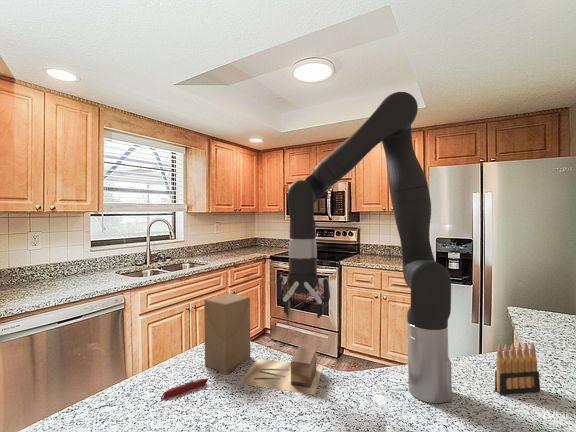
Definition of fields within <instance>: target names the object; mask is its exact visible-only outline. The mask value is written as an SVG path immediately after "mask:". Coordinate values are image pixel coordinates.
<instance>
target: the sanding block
mask: <svg viewBox="0 0 576 432" xmlns="http://www.w3.org/2000/svg"><path fill="white" fill-rule="evenodd" d="M290 363H291V385H294V386H301V387H308V388H310V387H311V385H312V382H313V379H314V376H315V373H316V366H317V348H312V347H303V346H298V348H297V349H296V351H295V353H294V355H293V357H292V359H291V360H290Z"/></svg>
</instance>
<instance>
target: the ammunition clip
mask: <svg viewBox="0 0 576 432" xmlns="http://www.w3.org/2000/svg"><path fill="white" fill-rule="evenodd" d="M536 351H537V350H536V346H535V344H534V342H531V343H530V345H529V346H528V343H527V342H524V344H523V348H522V345H521V343H520V342H518V343H517V346H515V344H514V343H511V345H510V347H509V345H508V344H507V343H506V344H504V348H503V347H502V344H501V343H499V344H498V345H497V351H496V360H495V361H496V364H495V365H496V366H495V368H496V370H495V371H494V391H495V392H497V393H498V394H499V395H501V396H503V395H506V396H507V395H519V394H520V395H521V394H531V393H532V394H533V393H541V383H540V371H539V370H538V360H537V353H536Z"/></svg>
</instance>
